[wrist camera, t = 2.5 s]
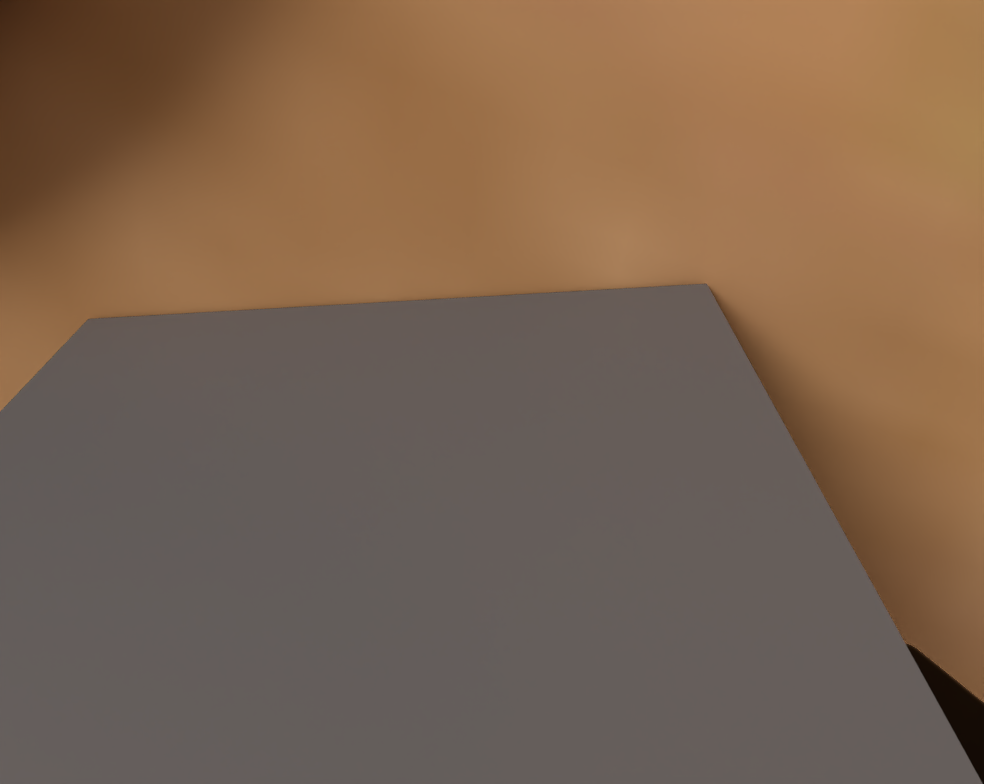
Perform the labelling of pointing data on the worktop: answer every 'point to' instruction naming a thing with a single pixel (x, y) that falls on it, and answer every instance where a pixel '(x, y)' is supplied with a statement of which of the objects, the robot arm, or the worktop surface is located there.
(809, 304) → the worktop surface
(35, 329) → the worktop surface
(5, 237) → the worktop surface
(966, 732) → the robot arm
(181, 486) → the matte slate cube
